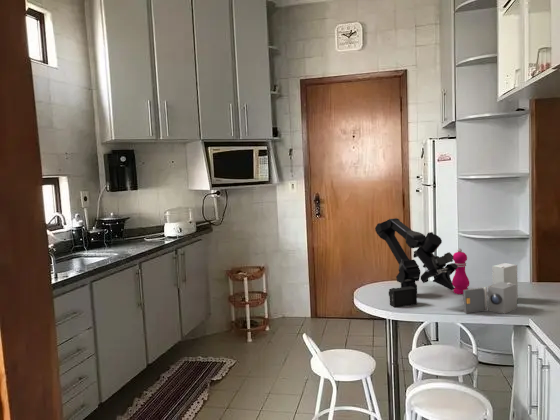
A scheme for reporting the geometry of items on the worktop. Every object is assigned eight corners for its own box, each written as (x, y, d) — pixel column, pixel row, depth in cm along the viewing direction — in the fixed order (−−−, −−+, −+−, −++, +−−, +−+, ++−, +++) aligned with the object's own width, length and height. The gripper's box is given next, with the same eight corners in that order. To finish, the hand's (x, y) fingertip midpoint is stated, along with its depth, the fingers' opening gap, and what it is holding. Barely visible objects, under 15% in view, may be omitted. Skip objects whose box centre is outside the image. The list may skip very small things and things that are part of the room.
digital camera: (410, 301, 196) (409, 285, 196) (417, 304, 191) (416, 288, 191) (388, 304, 194) (387, 288, 193) (394, 307, 188) (393, 291, 188)
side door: (486, 309, 178) (485, 287, 177) (488, 310, 176) (488, 287, 175) (464, 312, 176) (463, 289, 175) (466, 313, 174) (465, 290, 173)
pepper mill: (466, 290, 208) (465, 246, 207) (471, 294, 201) (470, 249, 200) (450, 290, 209) (449, 247, 208) (454, 294, 202) (453, 250, 201)
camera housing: (486, 311, 176) (486, 285, 176) (501, 305, 183) (500, 280, 182) (502, 314, 171) (501, 287, 171) (516, 308, 178) (516, 282, 177)
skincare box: (506, 297, 194) (505, 262, 193) (519, 300, 189) (518, 264, 188) (492, 300, 190) (491, 265, 189) (505, 303, 185) (504, 267, 184)
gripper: (425, 250, 182) (451, 281, 174) (453, 243, 193) (478, 273, 184) (410, 267, 189) (434, 298, 180) (437, 260, 200) (461, 289, 191)
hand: (452, 289), depth 184 cm, fingers closed
